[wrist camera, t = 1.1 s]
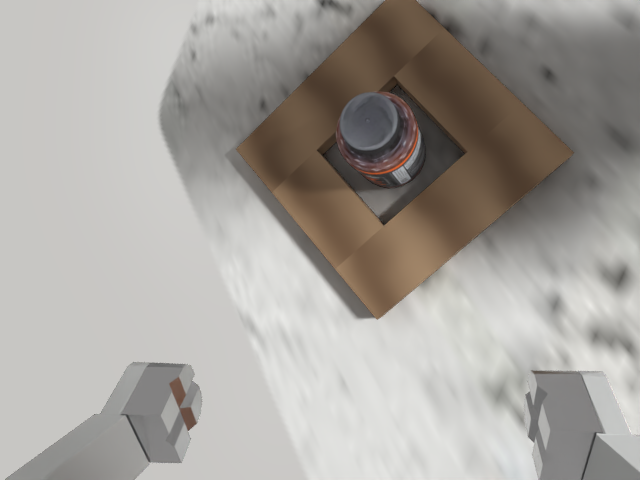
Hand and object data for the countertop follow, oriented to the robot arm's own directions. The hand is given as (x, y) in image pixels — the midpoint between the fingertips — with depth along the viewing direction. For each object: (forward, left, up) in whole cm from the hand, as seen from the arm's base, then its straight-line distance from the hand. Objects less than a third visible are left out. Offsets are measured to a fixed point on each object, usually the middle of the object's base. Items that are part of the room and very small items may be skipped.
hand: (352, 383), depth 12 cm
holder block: (-5, -12, -32) cm, 35 cm away
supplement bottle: (-5, -12, -32) cm, 35 cm away
